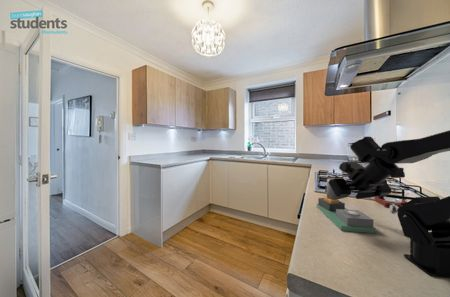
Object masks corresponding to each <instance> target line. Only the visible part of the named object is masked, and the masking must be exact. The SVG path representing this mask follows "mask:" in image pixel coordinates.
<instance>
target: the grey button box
mask: <svg viewBox="0 0 450 297" xmlns="http://www.w3.org/2000/svg"><path fill="white" fill-rule="evenodd" d="M336 216H337V217H338V218H339V219H340V220H341V221H343V222H344V223H345V224H346V225H348V226H362V227H374V223H375V222H374V221H375V220H374V219H373V218H372V217H370V216H369V215H367V214H366V213H363V211H360V210H359V209H358V210H356V209H348V210H343V209H336Z"/></svg>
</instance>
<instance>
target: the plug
mask: <svg viewBox="0 0 450 297" xmlns="http://www.w3.org/2000/svg"><path fill="white" fill-rule="evenodd" d="M330 179H331V178H327V179H326V196H323V198H324V200H325V201H327V202H329V203H339V201H340V199H337V200H334V199H333V193H334V191H333V190H332V188H331V186H330V184H329V183H328V182H329V180H330Z"/></svg>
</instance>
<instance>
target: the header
mask: <svg viewBox="0 0 450 297" xmlns="http://www.w3.org/2000/svg"><path fill="white" fill-rule="evenodd" d="M317 202H318V203H317V204H318V205H319V206H321V207H323V208H325V209H327V210H328V211H336V209H343V210H345V208H346V204H345V202H342V201H340V200H339V203H329V202H327V201H325V200H324V197H318V201H317Z"/></svg>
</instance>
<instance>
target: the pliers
mask: <svg viewBox="0 0 450 297" xmlns="http://www.w3.org/2000/svg"><path fill="white" fill-rule="evenodd" d="M374 201H375V202H376V203H378V204H379V205H382V206H383V207H384V208H387V209H389V211H390V213H393V211H396V212H397V213H398V211H397V209H398V208H399V207H401V206H403V205H401V204H400V203H407V202H408V201H406V200H405V199H402V201H401V202H397V203H394V204H393V203H392V202H389V201H387V200H384V199H382V198H380V197H379V196H378V197H374Z"/></svg>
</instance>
